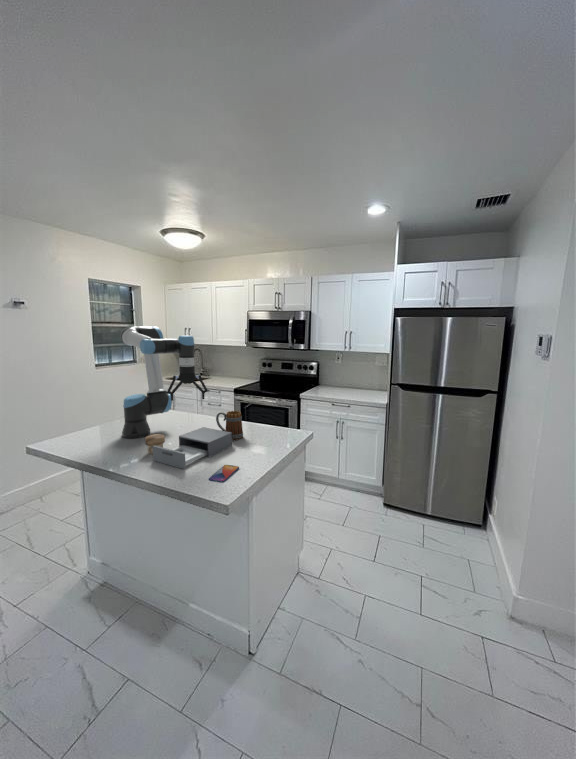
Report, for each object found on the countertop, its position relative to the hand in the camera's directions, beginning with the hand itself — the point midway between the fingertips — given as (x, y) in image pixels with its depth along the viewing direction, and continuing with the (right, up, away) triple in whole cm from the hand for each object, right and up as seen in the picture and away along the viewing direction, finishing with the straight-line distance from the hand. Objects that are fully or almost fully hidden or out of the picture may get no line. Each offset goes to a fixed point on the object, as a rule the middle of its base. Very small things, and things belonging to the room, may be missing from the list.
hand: (188, 406), depth 167 cm
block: (-15, -23, -6) cm, 28 cm away
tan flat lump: (-14, -18, -7) cm, 24 cm away
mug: (+19, -20, +18) cm, 33 cm away
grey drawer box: (+9, -22, +1) cm, 24 cm away
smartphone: (+25, -27, -30) cm, 47 cm away
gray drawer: (+1, -24, -14) cm, 28 cm away
